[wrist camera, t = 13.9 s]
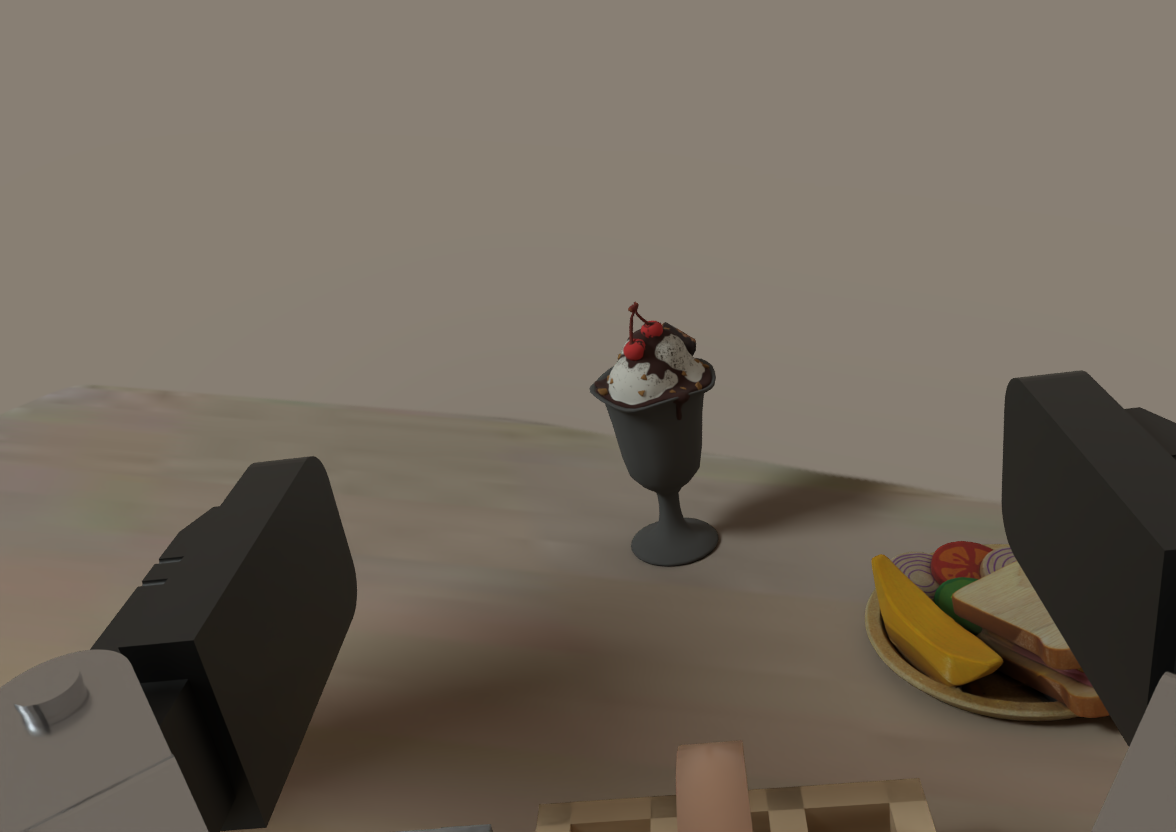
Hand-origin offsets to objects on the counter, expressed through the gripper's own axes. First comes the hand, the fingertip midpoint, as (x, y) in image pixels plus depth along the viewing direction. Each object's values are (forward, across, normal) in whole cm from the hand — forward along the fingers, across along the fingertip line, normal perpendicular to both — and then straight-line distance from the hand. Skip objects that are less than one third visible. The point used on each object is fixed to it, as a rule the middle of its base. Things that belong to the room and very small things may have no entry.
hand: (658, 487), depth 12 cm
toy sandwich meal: (+27, -14, +26) cm, 40 cm away
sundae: (+38, +1, +26) cm, 46 cm away
